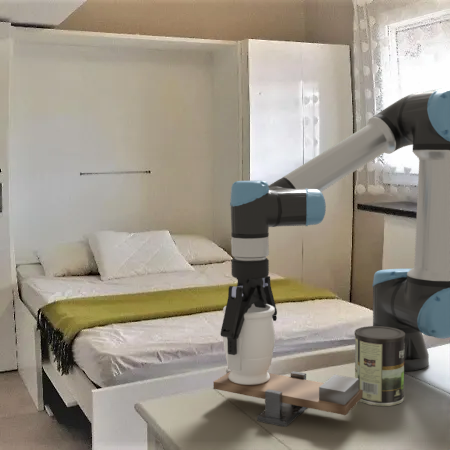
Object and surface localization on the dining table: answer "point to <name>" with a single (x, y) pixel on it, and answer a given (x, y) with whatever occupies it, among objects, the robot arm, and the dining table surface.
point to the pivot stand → (280, 407)
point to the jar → (254, 346)
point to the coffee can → (380, 364)
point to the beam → (303, 391)
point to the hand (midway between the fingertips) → (250, 360)
